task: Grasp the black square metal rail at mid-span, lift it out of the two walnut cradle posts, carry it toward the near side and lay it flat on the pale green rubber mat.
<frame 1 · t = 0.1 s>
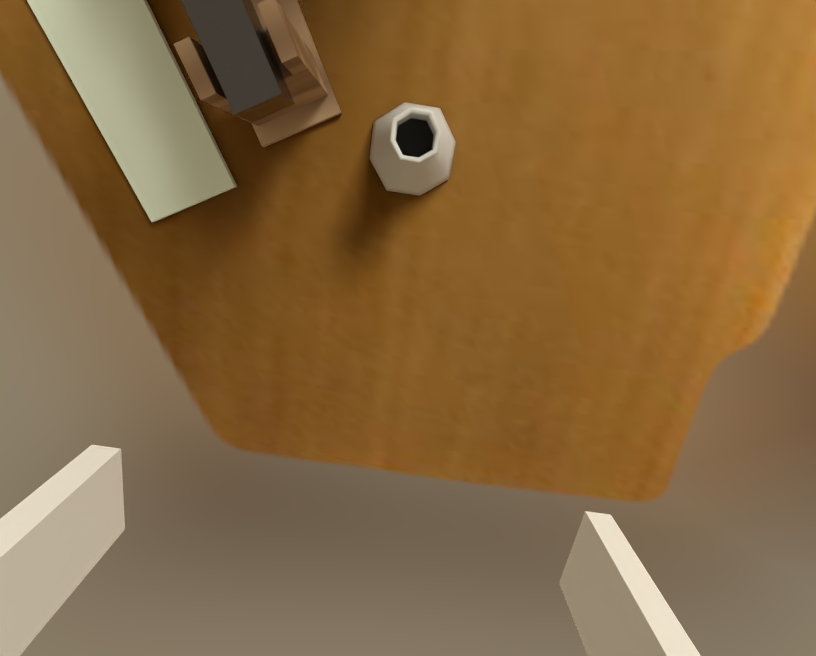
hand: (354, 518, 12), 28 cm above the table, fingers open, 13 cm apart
mat: (109, 39, 32), on the table
flask: (412, 151, 35), on the table
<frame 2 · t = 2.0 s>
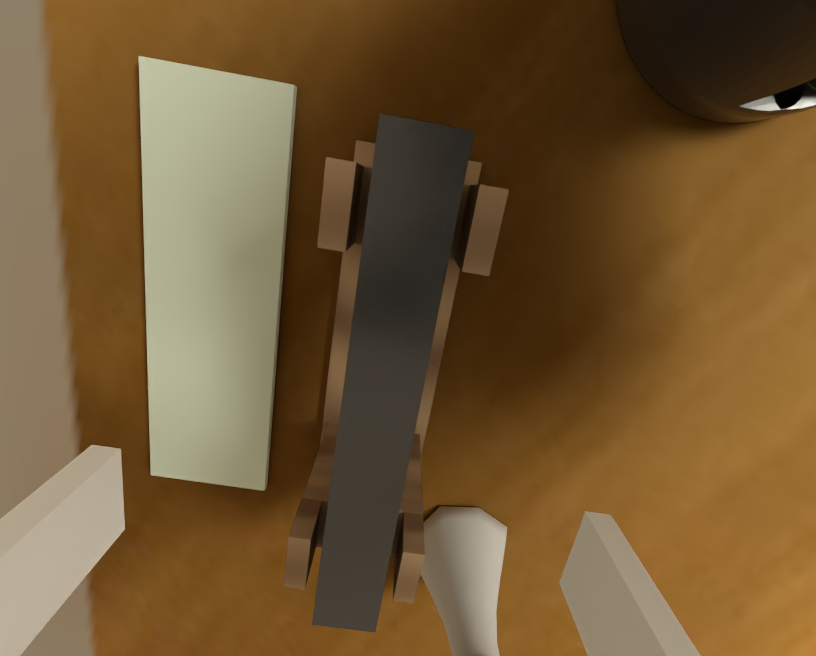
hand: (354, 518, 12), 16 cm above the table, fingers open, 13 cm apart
rack: (389, 335, 27), on the table
rail: (381, 392, 19), point 8 cm above the table, touching rack
mat: (216, 306, 26), on the table
flask: (459, 538, 32), on the table
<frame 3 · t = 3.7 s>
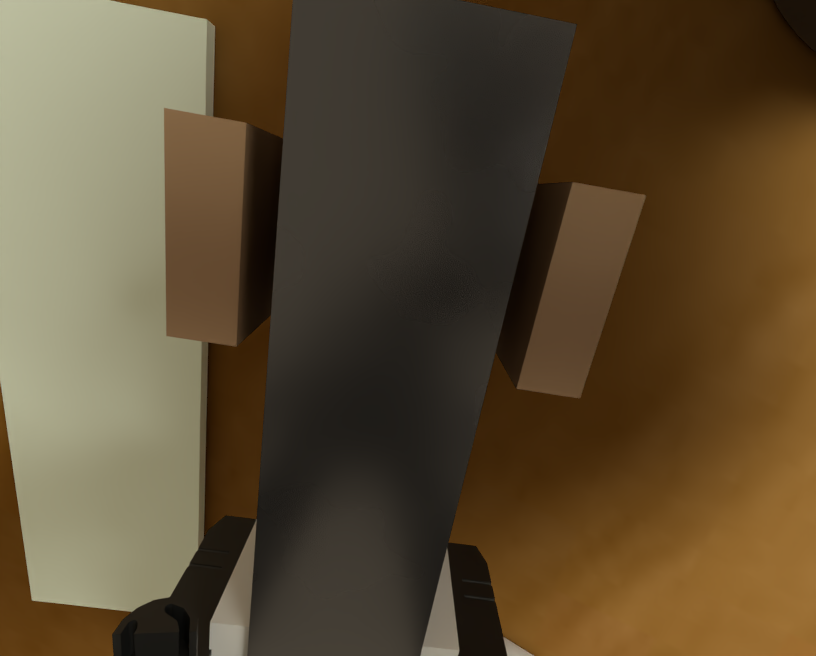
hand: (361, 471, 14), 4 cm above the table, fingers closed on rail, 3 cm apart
rack: (371, 407, 18), on the table
rail: (347, 562, 11), point 8 cm above the table, touching gripper, rack
mat: (110, 367, 18), on the table
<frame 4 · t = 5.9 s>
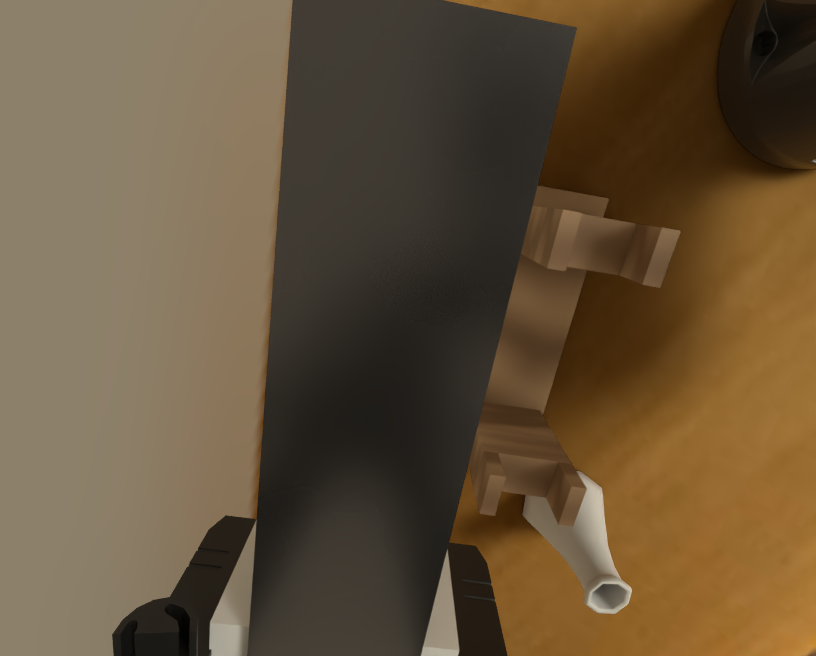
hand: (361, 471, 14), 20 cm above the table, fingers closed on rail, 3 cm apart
rack: (521, 330, 34), on the table
rail: (347, 564, 11), point 24 cm above the table, touching gripper
flask: (559, 498, 40), on the table
when the fingers open (1 cm above the table, at t = 8.0 s): rail drops 4 cm, resting on mat.
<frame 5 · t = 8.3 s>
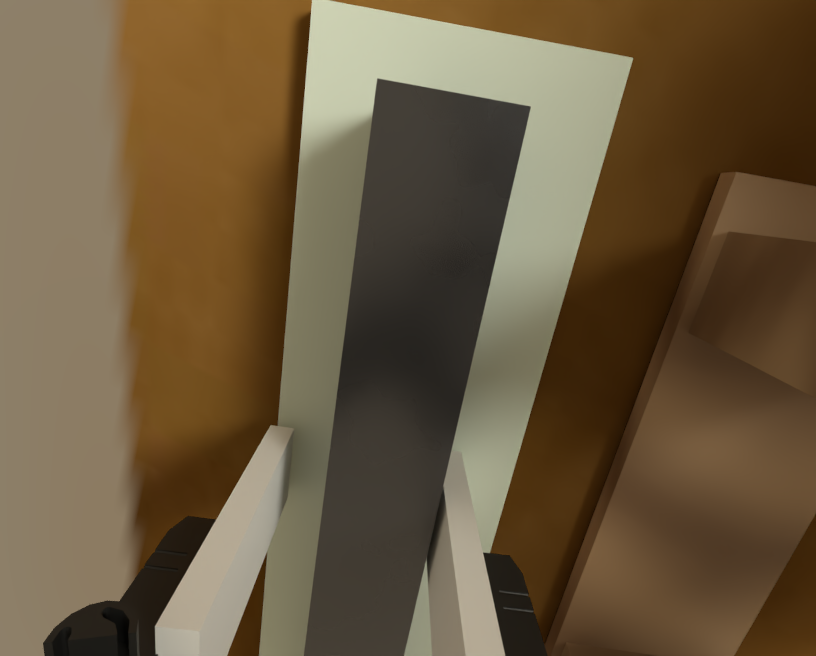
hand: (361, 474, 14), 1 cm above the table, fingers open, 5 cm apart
rack: (694, 509, 15), on the table
rail: (382, 471, 14), point 1 cm above the table, touching mat
mat: (393, 460, 15), on the table
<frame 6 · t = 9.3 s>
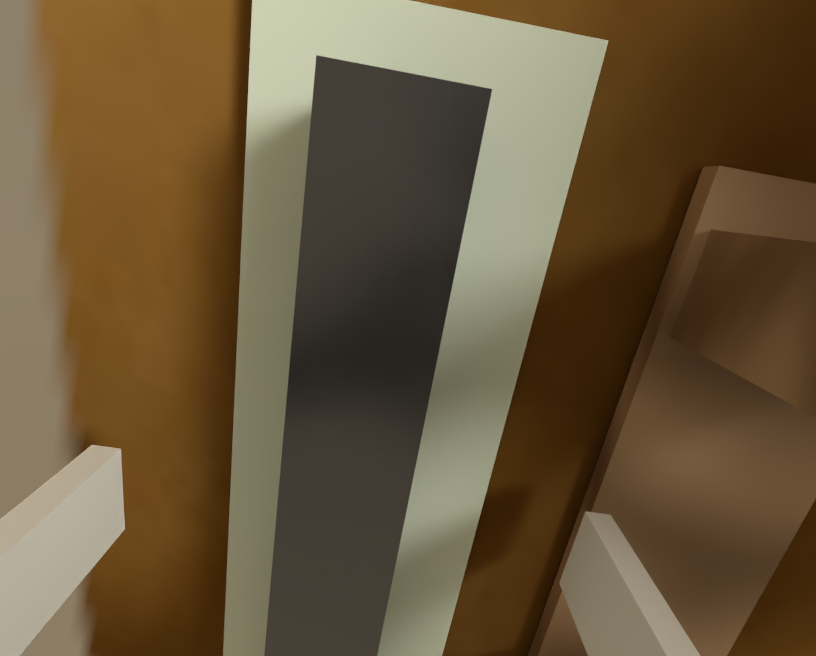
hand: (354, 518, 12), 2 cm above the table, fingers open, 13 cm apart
rack: (678, 521, 14), on the table
rail: (348, 489, 13), point 1 cm above the table, touching mat
mat: (361, 475, 14), on the table
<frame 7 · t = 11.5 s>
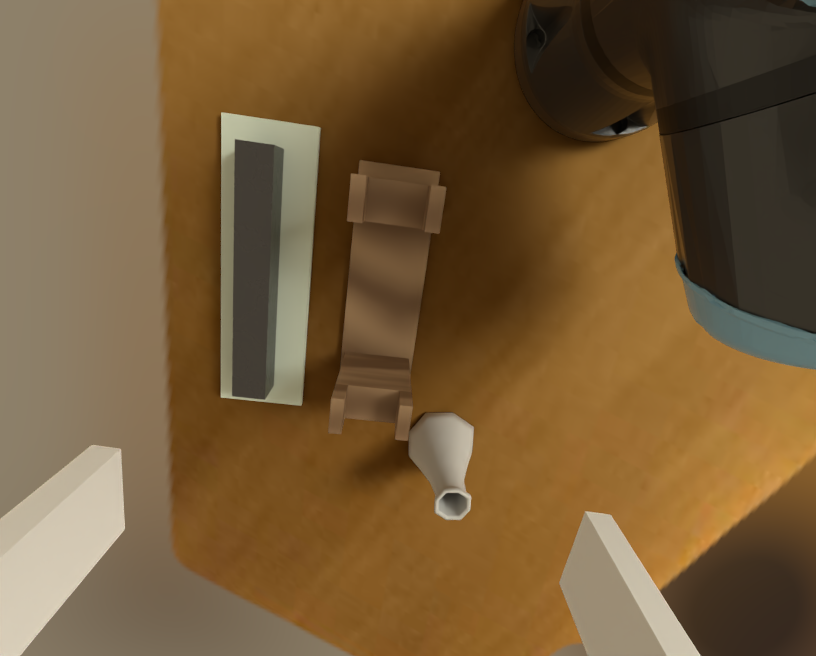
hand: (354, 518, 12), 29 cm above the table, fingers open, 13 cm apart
rack: (385, 289, 40), on the table
rail: (261, 275, 38), point 1 cm above the table, touching mat
mat: (267, 273, 39), on the table
flask: (440, 438, 45), on the table
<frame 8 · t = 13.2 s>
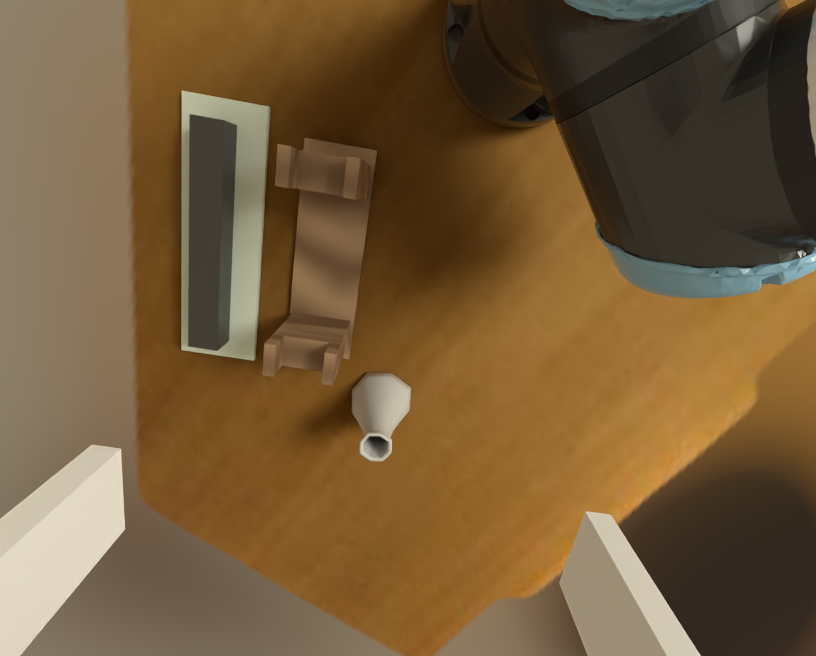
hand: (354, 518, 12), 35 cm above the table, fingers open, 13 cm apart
rack: (329, 256, 44), on the table
rail: (217, 239, 43), point 1 cm above the table, touching mat
mat: (223, 238, 44), on the table
flask: (381, 397, 50), on the table
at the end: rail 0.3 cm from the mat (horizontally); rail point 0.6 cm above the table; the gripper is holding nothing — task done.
